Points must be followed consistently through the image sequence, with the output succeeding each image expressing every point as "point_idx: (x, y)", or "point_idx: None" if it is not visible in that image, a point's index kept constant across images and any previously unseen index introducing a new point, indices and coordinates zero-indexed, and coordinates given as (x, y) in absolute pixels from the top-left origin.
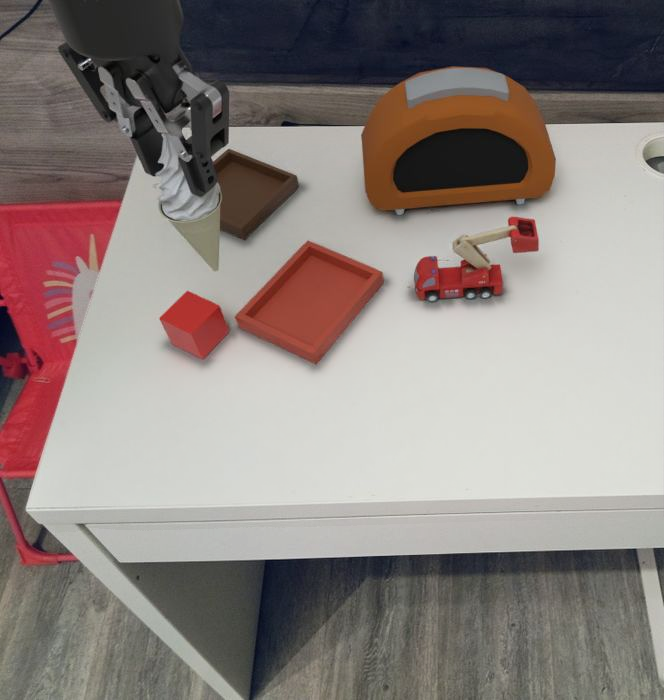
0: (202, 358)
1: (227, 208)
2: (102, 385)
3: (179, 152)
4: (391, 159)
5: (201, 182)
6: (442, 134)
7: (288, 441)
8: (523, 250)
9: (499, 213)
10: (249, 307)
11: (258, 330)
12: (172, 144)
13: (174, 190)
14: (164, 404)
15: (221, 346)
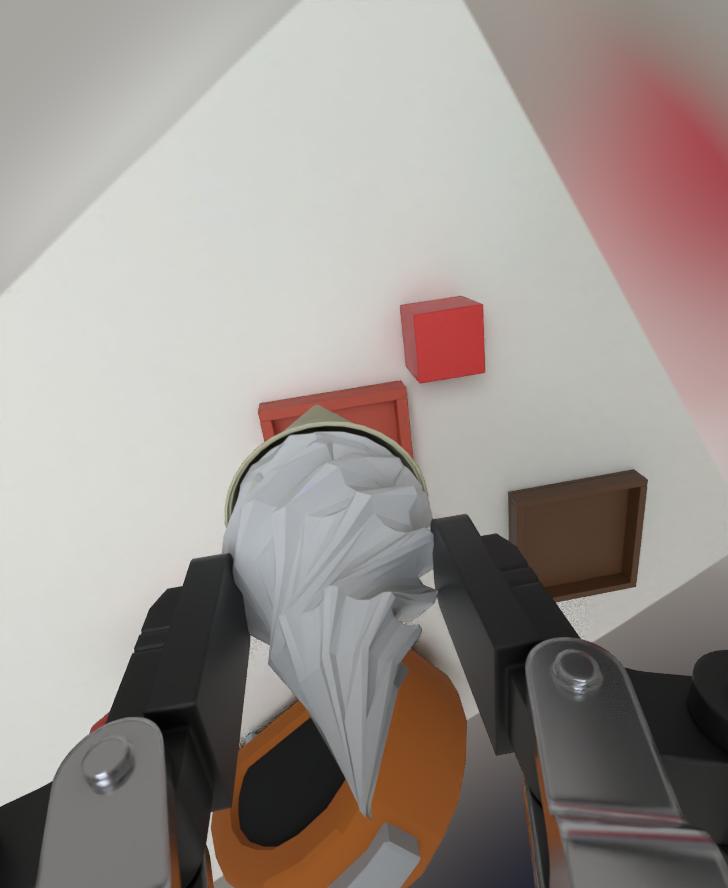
0: (400, 305)
1: (567, 514)
2: (494, 167)
3: (132, 765)
4: None
5: (156, 626)
6: (325, 805)
7: (181, 280)
8: (104, 717)
9: (260, 710)
10: (400, 412)
11: (361, 392)
12: (159, 805)
13: (278, 525)
14: (385, 206)
15: (396, 340)
